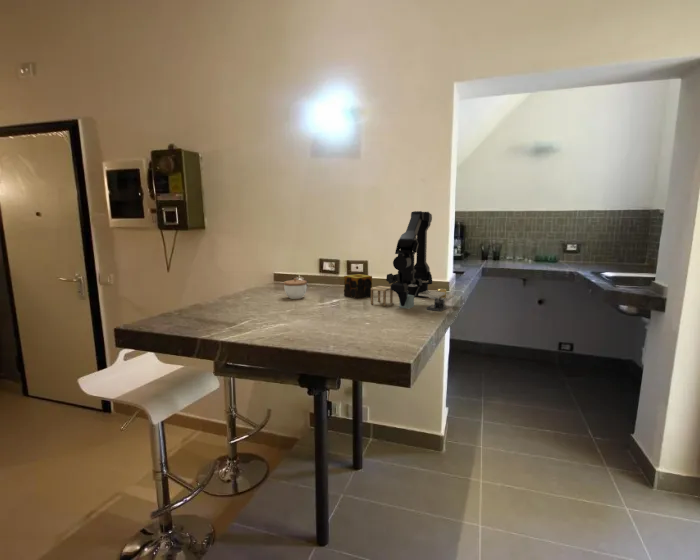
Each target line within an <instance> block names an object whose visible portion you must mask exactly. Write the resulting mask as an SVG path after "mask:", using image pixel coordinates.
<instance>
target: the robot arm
mask: <svg viewBox="0 0 700 560" xmlns="http://www.w3.org/2000/svg"><path fill="white" fill-rule="evenodd" d="M432 221H433V214H432V213H430V212H429V211H422V210H420V211H419V210H417V211H416V210H415V211H411V213H410V219H409V222H408V225H407V228H406V231H405V232H403V233H402V234H401V235H400V236H399V239H398V240H397V242H396V243H397V244H396V247H395V252H394V255H397V256H396V257H394V259H393V261H392V265H393V267H394V269H396V270H397V273H396V274H393V273H392V272H391V273H389V274H388V273H387V274H386V280H385V281H386V282H388V284H389V285H390V287H391V290H393V293H394V292H395V293H396V294H397V296H398V299H399V300H400V303H401V306H404V305H405V302H406V299H407V296H408V295H414V298H415V297H416V298H417V297H418V298H427V296H418V294H419V293H421V292H424V291H426V290H427V291H429V285H433V276H432V272H431V269H430V266H429V264H428V263H427V242H428V241H427V237H428V230H429V229H430V227H431V223H432ZM415 255H416V263H415ZM399 300H398V301H399Z"/></svg>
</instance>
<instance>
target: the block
mask: <svg viewBox="0 0 700 560" xmlns="http://www.w3.org/2000/svg"><path fill="white" fill-rule="evenodd" d="M398 301H399V303H398V304H399V306H398V307H399V308H401V309H406V310H407V309H408V310H410V309H412V308H414V306H415V297H414V295H408V296H407V299H406V302H405V305H404V306H401V303H400V300H398Z"/></svg>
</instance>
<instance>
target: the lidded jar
mask: <svg viewBox="0 0 700 560" xmlns="http://www.w3.org/2000/svg"><path fill="white" fill-rule="evenodd" d="M283 285H284V286H283V287H284V292H285V294H286V296H287V297H288V299H289V300H290V299H291V300H300V299H302V298H303V297H304V296H305V294H306V292H307V289H308V288H307V285H308V283H307V280H304V279H302V280H301V279H297V277H294V278H293V279H291V280H286V281H283Z"/></svg>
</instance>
